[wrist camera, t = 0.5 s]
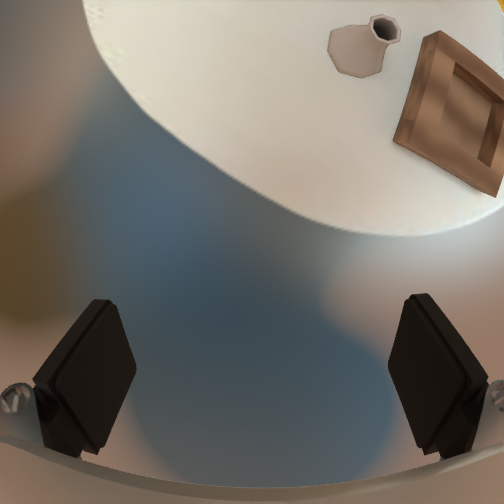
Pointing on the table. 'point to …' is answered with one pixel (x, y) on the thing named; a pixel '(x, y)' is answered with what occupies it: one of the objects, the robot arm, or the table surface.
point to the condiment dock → (456, 113)
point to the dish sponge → (501, 4)
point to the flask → (363, 45)
